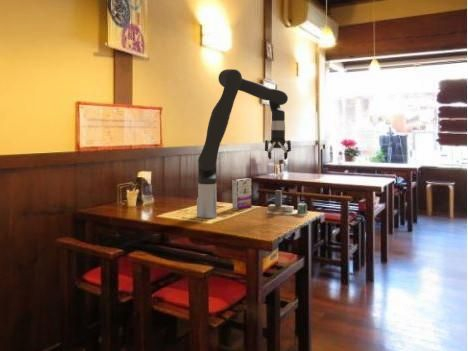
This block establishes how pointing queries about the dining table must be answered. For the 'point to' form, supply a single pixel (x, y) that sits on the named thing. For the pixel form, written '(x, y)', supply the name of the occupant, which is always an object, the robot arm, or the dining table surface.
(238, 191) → the candy bar box
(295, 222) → the dining table surface
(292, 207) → the gray t-shaped block
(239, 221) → the dining table surface
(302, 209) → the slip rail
